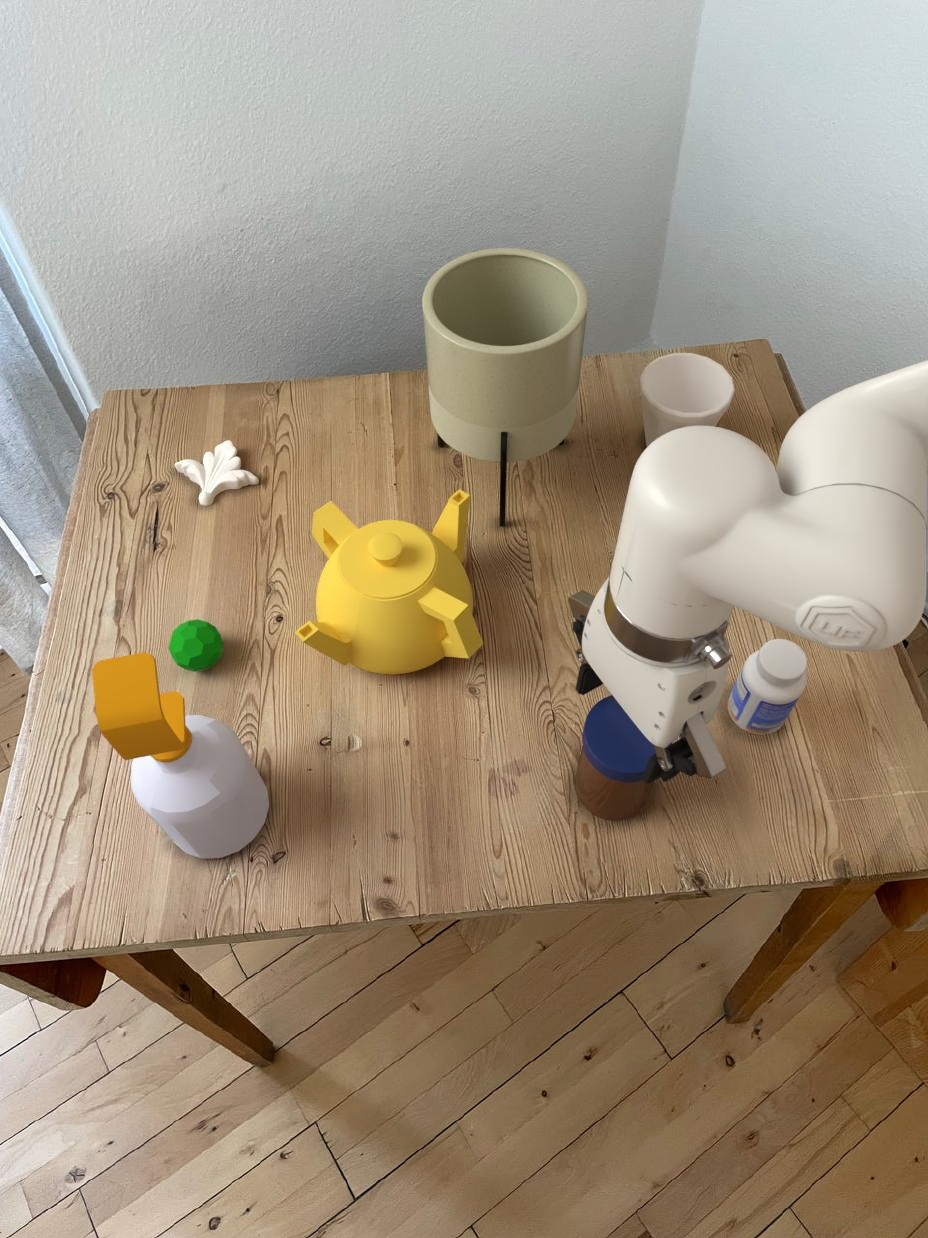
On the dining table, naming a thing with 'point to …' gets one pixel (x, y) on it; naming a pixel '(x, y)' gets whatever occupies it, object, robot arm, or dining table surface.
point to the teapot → (393, 592)
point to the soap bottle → (179, 760)
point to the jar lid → (615, 742)
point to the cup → (683, 393)
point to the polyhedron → (195, 645)
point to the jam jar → (609, 793)
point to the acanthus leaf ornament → (217, 472)
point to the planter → (504, 354)
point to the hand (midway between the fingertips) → (626, 726)
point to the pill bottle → (768, 687)
